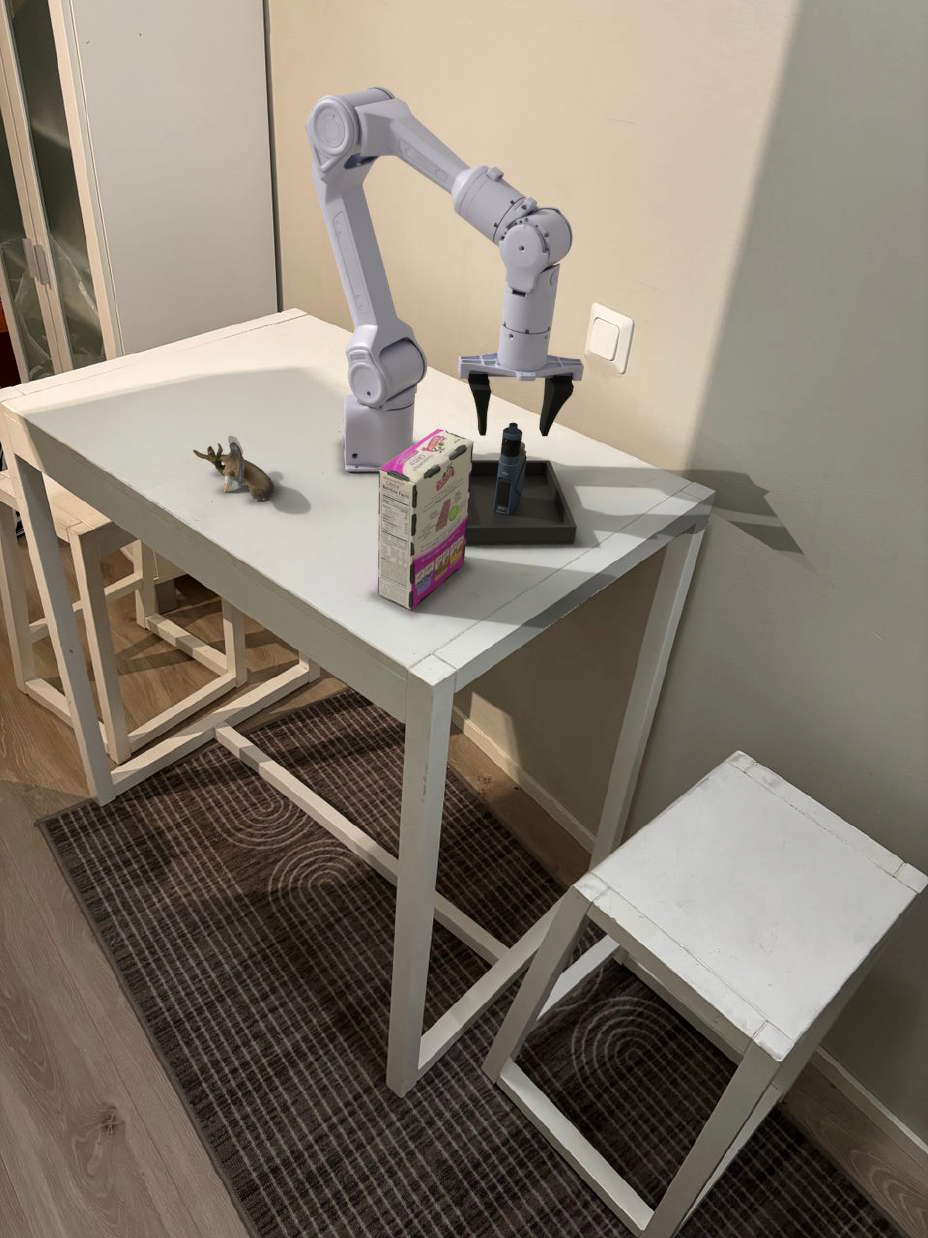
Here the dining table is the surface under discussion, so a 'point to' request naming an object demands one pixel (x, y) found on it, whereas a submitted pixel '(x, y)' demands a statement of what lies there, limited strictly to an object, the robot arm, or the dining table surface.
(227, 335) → the dining table surface
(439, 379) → the dining table surface
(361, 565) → the dining table surface
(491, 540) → the tray
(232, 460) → the antlered animal figurine
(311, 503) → the dining table surface
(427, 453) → the candy bar box
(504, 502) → the vaping device
